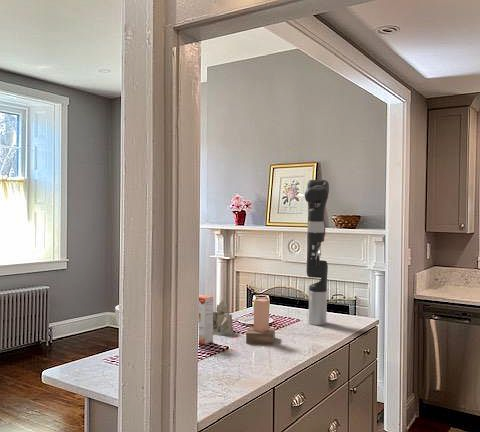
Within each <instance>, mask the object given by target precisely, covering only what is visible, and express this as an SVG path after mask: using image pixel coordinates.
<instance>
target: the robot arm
mask: <svg viewBox="0 0 480 432" xmlns="http://www.w3.org/2000/svg"><path fill="white" fill-rule="evenodd" d="M306 187H307V188H306V190H305V192H304V199H305V201H306V202H307V256H306V275H307V277H308V278H314V279H320V280H319V281H317V282H314V283H311V284H310V285H309V287H308V324H310V325H312V326H313V325H314V326H325V325H326V324H327V314H328V313H327V312H328V311H327V307H328V306H327V305H328V302H327V300H328V294H327V293H328V273H329V269H328V268H329V267H328V266H329V264H328V262H327V260H321V259H320V258H321V255H322V246H321V245H322V243H324V242H325V236H326V220H325V209H326V204H327V202H328V198H329V194H330V193H329V192H330V184H329V181H327V180H325V179H310V180H308V182H307V186H306ZM316 204H319V205H318V206H317V205H316Z"/></svg>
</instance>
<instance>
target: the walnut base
mask: <svg viewBox="0 0 480 432" xmlns="http://www.w3.org/2000/svg"><path fill="white" fill-rule="evenodd" d="M253 328H254V326H248V328H247V331H246V333H245V337H246V338H245V340H246V341H245V344H251V345H266V346H267V345H271V346H273V345H274V342H275V339H276V327H269V330H268V331H265V332H259V331H255V330H253Z"/></svg>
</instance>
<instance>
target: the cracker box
mask: <svg viewBox="0 0 480 432" xmlns="http://www.w3.org/2000/svg"><path fill="white" fill-rule="evenodd" d="M213 312H214V297H213V296H210V295H206V294H205V295H204V294H199V343H198V344H201V345H204V344H205V345H207V344H211V343H213V342H214V334H213Z"/></svg>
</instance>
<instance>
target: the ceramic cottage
mask: <svg viewBox="0 0 480 432" xmlns="http://www.w3.org/2000/svg"><path fill="white" fill-rule="evenodd" d="M233 320H234V319H233V315H232V314H230V313H229V312H228V305H227V304H225V302H224V299H220V302H219V304H217V305H216V310H215V311H213V335H216V336H230V335H233V333H234V332H235V331H234V326H233V324H234V321H233Z"/></svg>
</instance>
